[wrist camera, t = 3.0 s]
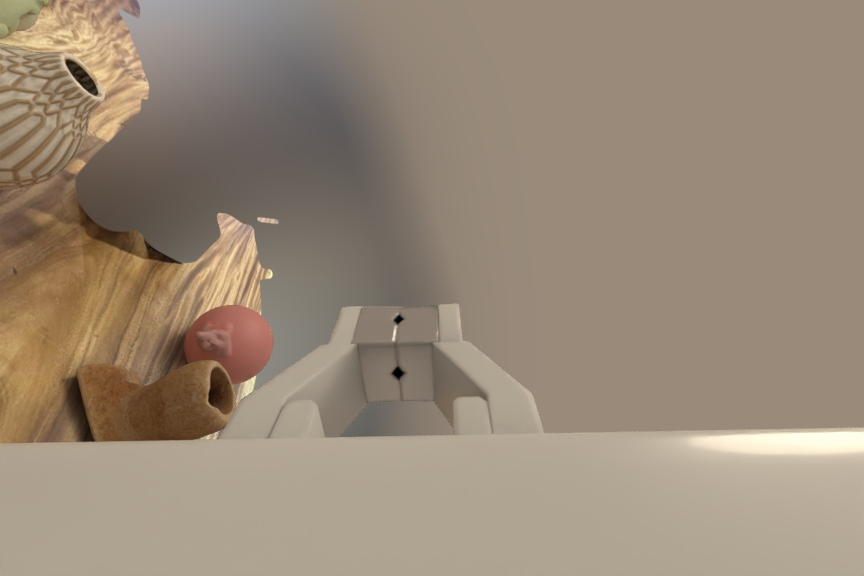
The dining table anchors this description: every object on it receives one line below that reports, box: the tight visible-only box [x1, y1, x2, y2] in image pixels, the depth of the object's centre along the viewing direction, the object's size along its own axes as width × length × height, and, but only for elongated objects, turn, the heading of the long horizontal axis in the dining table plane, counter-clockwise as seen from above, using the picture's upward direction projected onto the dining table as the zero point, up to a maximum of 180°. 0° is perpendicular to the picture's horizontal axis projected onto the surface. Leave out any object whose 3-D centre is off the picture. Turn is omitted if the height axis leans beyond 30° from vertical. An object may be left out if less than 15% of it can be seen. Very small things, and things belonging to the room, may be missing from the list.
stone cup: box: [77, 360, 236, 442], centre depth 54 cm, size 15×12×15 cm
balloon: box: [184, 305, 273, 384], centre depth 72 cm, size 15×20×15 cm
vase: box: [0, 43, 105, 190], centre depth 45 cm, size 16×16×20 cm
